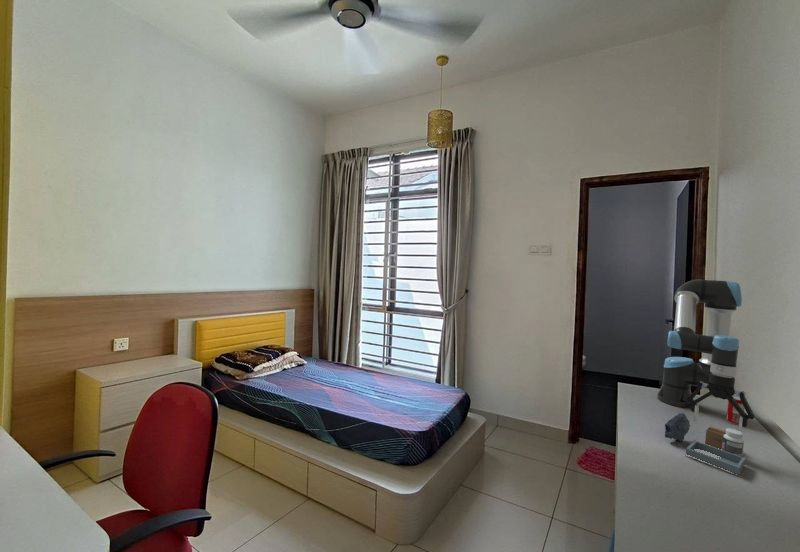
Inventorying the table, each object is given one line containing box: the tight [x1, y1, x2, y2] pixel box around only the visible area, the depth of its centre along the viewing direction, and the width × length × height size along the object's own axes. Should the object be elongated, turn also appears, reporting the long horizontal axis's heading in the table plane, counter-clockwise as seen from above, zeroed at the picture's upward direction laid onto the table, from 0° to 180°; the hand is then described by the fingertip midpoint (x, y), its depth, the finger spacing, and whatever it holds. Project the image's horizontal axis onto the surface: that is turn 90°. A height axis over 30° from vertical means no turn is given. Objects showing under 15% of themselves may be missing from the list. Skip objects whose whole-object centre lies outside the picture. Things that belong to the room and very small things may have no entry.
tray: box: [685, 440, 746, 476], centre depth 132 cm, size 11×15×3 cm
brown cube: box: [704, 425, 726, 449], centre depth 144 cm, size 6×5×6 cm
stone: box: [664, 412, 691, 443], centre depth 147 cm, size 14×6×10 cm, turn 129°
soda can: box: [726, 395, 745, 426], centre depth 165 cm, size 6×6×12 cm
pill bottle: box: [722, 427, 745, 457], centre depth 135 cm, size 6×6×10 cm
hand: (717, 427), depth 143 cm, fingers open, 13 cm apart
